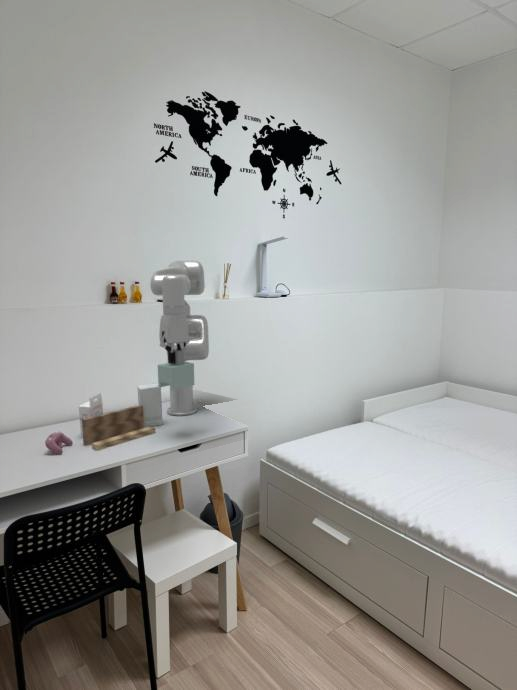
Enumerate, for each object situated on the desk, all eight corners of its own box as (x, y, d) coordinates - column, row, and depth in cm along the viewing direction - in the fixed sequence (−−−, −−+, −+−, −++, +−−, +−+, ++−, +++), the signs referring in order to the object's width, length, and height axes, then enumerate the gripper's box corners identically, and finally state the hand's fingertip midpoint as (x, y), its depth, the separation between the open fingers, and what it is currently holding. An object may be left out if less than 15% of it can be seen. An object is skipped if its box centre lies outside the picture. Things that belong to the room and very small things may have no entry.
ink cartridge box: (92, 429, 189) (90, 392, 186) (104, 430, 188) (102, 392, 185) (80, 437, 180) (77, 397, 178) (92, 438, 179) (90, 398, 177)
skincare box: (159, 420, 200) (158, 382, 197) (163, 425, 194) (162, 386, 191) (138, 423, 196) (136, 384, 194) (141, 428, 190) (139, 388, 188)
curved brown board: (141, 427, 191) (140, 404, 189) (155, 432, 185) (154, 409, 184) (83, 444, 173) (81, 419, 172) (96, 450, 167) (95, 424, 166)
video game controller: (63, 448, 173) (53, 431, 172) (74, 443, 173) (64, 425, 172) (50, 459, 164) (40, 441, 163) (62, 453, 163) (51, 435, 162)
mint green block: (180, 381, 186) (179, 347, 184) (194, 385, 181) (193, 349, 179) (158, 386, 178) (157, 350, 176) (172, 390, 173) (171, 353, 171)
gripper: (184, 308, 184) (186, 358, 187) (148, 312, 172) (150, 364, 175) (198, 310, 179) (199, 360, 182) (162, 313, 167) (164, 367, 170)
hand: (175, 362), depth 178 cm, fingers closed on mint green block, 2 cm apart
